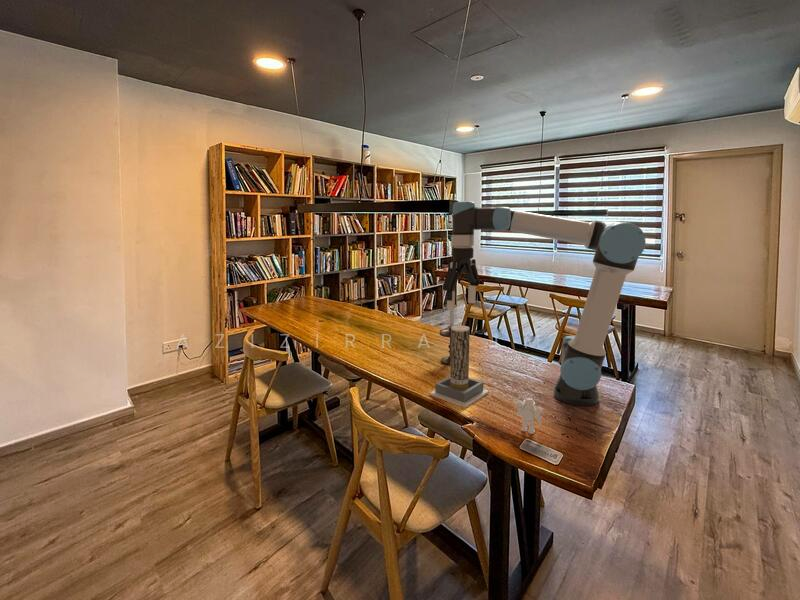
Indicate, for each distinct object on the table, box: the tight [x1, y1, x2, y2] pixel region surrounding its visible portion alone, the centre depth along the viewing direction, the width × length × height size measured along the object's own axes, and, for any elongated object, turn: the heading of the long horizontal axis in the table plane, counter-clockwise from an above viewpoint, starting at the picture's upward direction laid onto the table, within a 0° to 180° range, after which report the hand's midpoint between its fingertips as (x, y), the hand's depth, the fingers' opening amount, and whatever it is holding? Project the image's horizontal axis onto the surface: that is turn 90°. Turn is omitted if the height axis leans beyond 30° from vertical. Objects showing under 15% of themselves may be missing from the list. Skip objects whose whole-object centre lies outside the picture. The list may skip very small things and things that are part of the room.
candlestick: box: [439, 309, 455, 366], centre depth 180 cm, size 11×11×35 cm
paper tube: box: [449, 324, 471, 391], centre depth 147 cm, size 7×7×25 cm
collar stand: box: [429, 375, 490, 409], centre depth 149 cm, size 16×16×4 cm
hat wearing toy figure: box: [514, 393, 545, 435], centre depth 122 cm, size 9×4×12 cm, turn 48°
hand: (461, 306), depth 143 cm, fingers open, 13 cm apart
